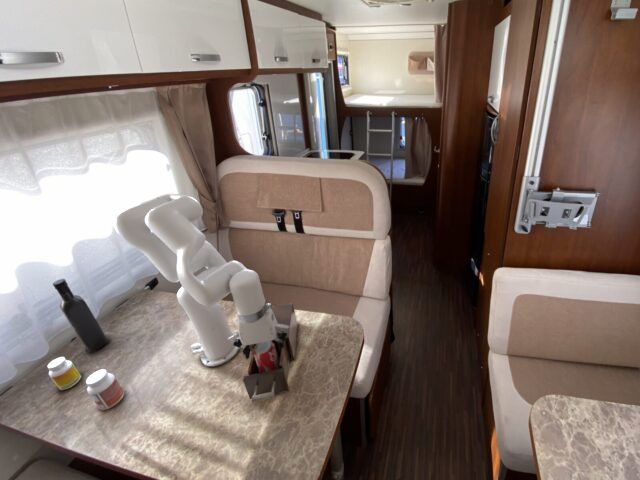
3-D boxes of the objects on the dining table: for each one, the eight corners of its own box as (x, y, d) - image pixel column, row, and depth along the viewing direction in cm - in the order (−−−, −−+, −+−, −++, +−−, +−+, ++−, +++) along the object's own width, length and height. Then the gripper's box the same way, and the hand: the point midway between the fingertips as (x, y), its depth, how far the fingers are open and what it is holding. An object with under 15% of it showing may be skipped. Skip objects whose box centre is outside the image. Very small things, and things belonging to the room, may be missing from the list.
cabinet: (294, 359, 103) (288, 337, 99) (255, 367, 101) (248, 344, 97) (297, 323, 117) (292, 303, 113) (263, 330, 115) (257, 309, 111)
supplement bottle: (84, 378, 101) (70, 358, 97) (63, 393, 96) (48, 372, 93) (76, 372, 103) (63, 352, 99) (56, 386, 99) (40, 366, 95)
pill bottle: (127, 386, 97) (112, 363, 93) (121, 404, 92) (106, 380, 88) (103, 395, 95) (87, 372, 90) (95, 414, 90) (78, 390, 85)
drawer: (287, 407, 88) (281, 387, 84) (246, 416, 86) (238, 396, 83) (292, 350, 105) (288, 332, 102) (258, 357, 103) (253, 338, 100)
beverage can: (274, 383, 93) (266, 356, 89) (256, 380, 95) (248, 353, 90) (284, 365, 99) (277, 338, 94) (267, 362, 100) (259, 336, 95)
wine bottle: (90, 354, 110) (49, 289, 98) (85, 347, 112) (44, 284, 100) (109, 342, 114) (72, 279, 102) (104, 336, 117) (67, 274, 105)
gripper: (285, 296, 91) (294, 336, 98) (224, 305, 88) (238, 346, 95) (282, 314, 84) (292, 356, 91) (216, 326, 82) (232, 368, 88)
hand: (264, 351), depth 93 cm, fingers open, 9 cm apart
